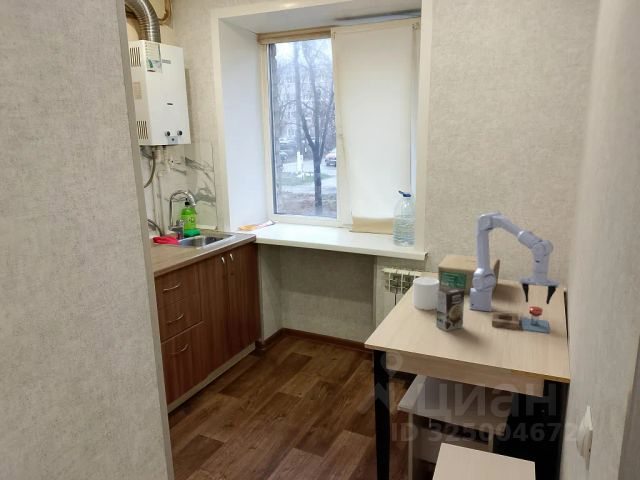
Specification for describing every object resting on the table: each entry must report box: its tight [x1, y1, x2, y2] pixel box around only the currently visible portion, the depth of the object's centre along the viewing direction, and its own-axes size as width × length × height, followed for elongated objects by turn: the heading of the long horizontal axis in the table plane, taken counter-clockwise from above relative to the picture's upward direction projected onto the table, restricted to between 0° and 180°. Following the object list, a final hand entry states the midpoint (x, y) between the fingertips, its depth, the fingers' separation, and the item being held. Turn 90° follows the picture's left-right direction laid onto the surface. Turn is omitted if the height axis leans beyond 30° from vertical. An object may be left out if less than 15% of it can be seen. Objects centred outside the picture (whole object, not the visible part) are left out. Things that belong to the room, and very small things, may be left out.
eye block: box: [491, 311, 520, 330], centre depth 194 cm, size 10×10×2 cm
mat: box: [520, 317, 550, 334], centre depth 191 cm, size 10×12×1 cm
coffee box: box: [435, 287, 465, 332], centre depth 190 cm, size 9×6×16 cm
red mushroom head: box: [528, 306, 543, 326], centre depth 190 cm, size 5×5×7 cm
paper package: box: [437, 253, 501, 295], centre depth 237 cm, size 27×26×14 cm
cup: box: [412, 276, 439, 311], centre depth 214 cm, size 12×12×12 cm
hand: (537, 302), depth 189 cm, fingers open, 7 cm apart
